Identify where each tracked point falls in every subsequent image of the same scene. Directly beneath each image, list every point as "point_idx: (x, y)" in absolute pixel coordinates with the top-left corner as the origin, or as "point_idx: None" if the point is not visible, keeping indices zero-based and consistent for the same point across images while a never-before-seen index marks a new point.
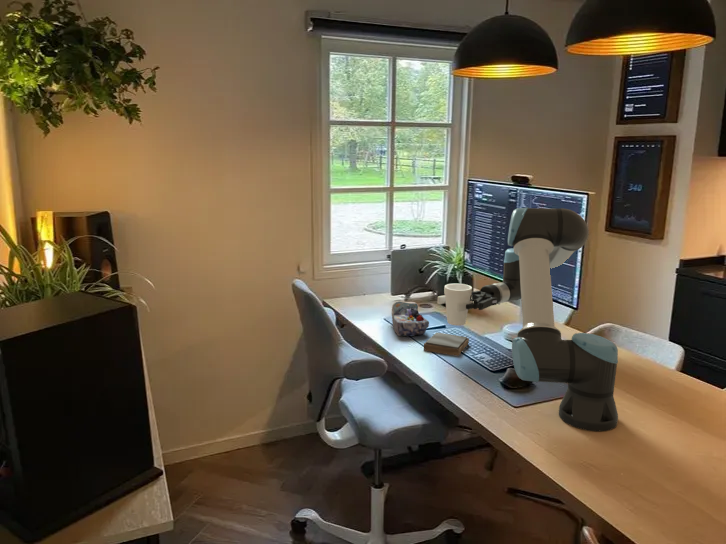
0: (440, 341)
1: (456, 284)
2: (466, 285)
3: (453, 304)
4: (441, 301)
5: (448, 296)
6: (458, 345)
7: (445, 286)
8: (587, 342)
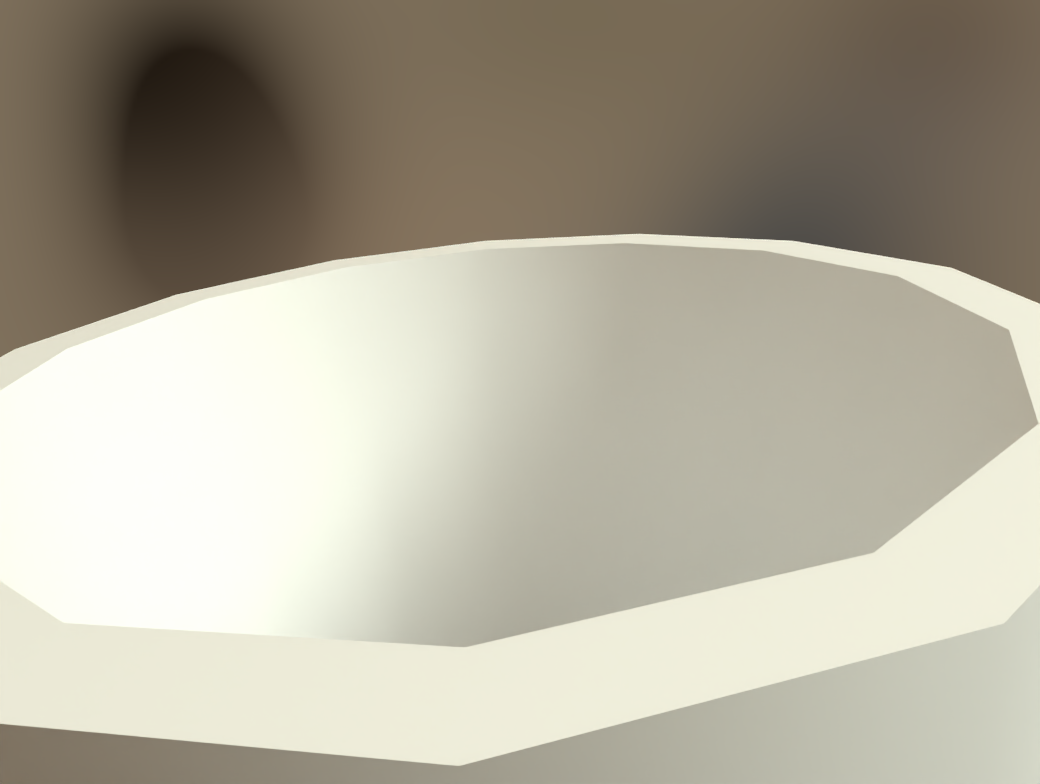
0: None
1: (1014, 404)
2: (603, 625)
3: (363, 629)
4: None
5: (462, 433)
6: None
7: (675, 239)
8: None
